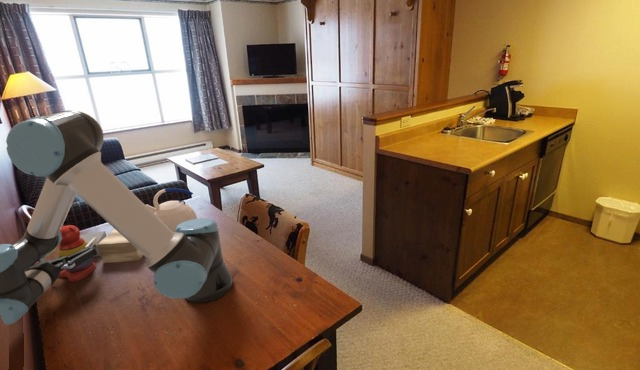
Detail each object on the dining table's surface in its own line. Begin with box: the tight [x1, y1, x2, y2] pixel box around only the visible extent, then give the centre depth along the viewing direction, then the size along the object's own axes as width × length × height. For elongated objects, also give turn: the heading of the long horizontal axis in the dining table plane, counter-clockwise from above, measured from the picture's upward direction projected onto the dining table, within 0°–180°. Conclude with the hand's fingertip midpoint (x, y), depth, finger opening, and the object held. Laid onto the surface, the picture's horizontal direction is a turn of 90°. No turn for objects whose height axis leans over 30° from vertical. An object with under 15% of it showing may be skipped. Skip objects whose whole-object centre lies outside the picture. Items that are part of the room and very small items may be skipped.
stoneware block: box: [80, 230, 107, 258], centre depth 132 cm, size 9×9×6 cm
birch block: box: [98, 228, 144, 264], centre depth 130 cm, size 13×13×8 cm
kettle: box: [145, 187, 198, 233], centre depth 147 cm, size 20×21×18 cm
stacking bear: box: [57, 224, 97, 283], centre depth 117 cm, size 11×10×18 cm
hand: (75, 243), depth 119 cm, fingers open, 13 cm apart
